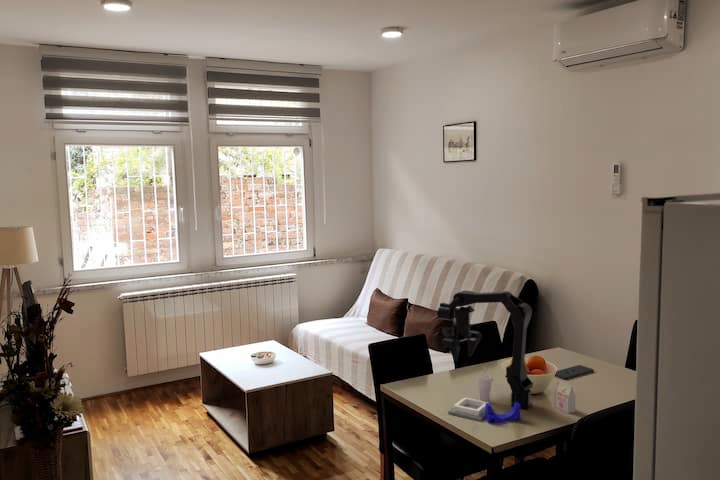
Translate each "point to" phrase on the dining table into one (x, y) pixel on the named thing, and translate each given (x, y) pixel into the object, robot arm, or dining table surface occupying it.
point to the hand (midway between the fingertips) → (462, 359)
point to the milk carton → (564, 398)
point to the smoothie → (484, 386)
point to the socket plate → (470, 409)
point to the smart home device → (573, 372)
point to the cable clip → (497, 418)
